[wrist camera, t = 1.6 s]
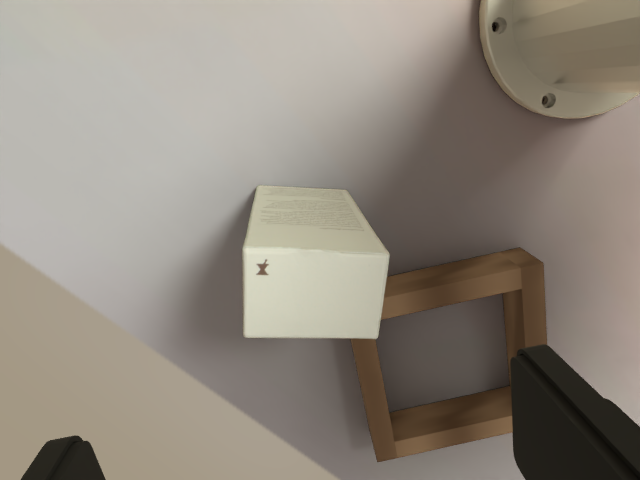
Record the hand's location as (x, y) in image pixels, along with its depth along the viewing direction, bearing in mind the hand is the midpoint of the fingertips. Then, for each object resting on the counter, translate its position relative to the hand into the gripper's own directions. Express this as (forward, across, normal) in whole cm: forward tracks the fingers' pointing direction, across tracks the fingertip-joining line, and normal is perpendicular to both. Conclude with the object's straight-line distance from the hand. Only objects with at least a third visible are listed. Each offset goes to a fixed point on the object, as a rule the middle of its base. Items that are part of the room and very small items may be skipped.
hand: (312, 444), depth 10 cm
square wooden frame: (+21, -9, +12) cm, 26 cm away
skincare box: (+21, -1, +1) cm, 21 cm away
